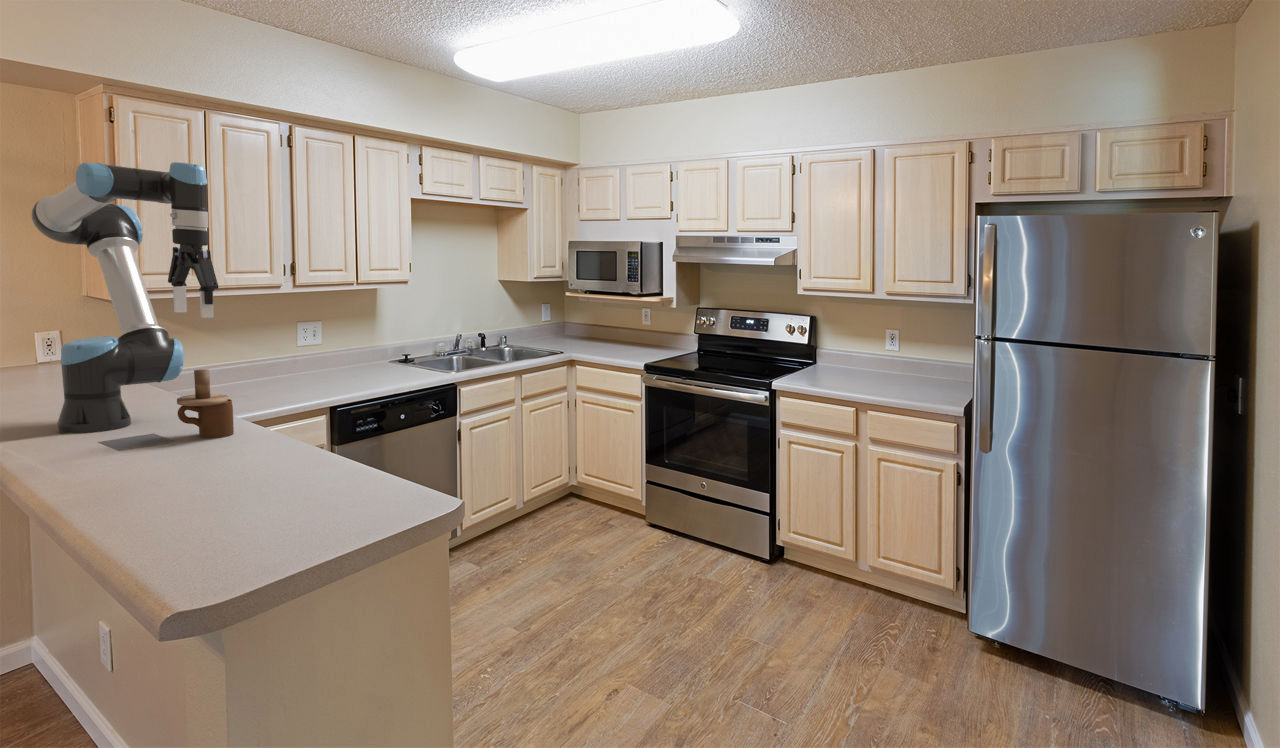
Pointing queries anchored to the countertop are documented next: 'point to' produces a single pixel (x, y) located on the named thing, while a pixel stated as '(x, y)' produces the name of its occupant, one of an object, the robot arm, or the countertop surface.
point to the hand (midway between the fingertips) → (193, 315)
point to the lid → (202, 392)
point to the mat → (136, 442)
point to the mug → (211, 419)
